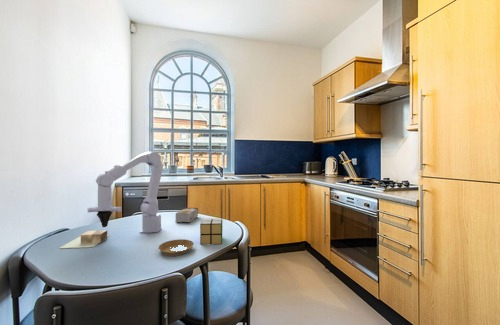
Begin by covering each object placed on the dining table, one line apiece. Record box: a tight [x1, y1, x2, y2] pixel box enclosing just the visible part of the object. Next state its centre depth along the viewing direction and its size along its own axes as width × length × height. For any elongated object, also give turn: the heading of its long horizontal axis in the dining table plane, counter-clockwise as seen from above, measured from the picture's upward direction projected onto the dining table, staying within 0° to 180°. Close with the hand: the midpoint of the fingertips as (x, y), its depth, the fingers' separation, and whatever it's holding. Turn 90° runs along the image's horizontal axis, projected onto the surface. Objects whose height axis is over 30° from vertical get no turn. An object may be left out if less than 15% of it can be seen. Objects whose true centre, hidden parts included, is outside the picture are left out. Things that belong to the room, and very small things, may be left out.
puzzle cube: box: [199, 217, 223, 246], centre depth 113 cm, size 10×10×10 cm
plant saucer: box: [158, 238, 195, 257], centre depth 101 cm, size 15×15×3 cm
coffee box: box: [174, 207, 199, 223], centre depth 151 cm, size 9×6×16 cm
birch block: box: [80, 229, 108, 244], centre depth 112 cm, size 4×6×9 cm
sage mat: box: [58, 234, 111, 250], centre depth 111 cm, size 14×16×1 cm
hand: (104, 226), depth 112 cm, fingers closed
